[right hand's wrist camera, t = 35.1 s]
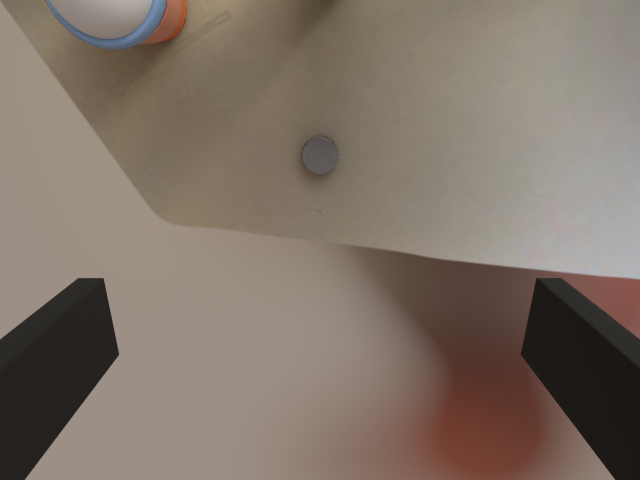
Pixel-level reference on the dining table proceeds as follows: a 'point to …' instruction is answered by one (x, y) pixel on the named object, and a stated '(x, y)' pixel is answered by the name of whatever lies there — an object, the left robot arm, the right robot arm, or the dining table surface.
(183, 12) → the cup with straw
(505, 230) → the dining table surface
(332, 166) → the cap
